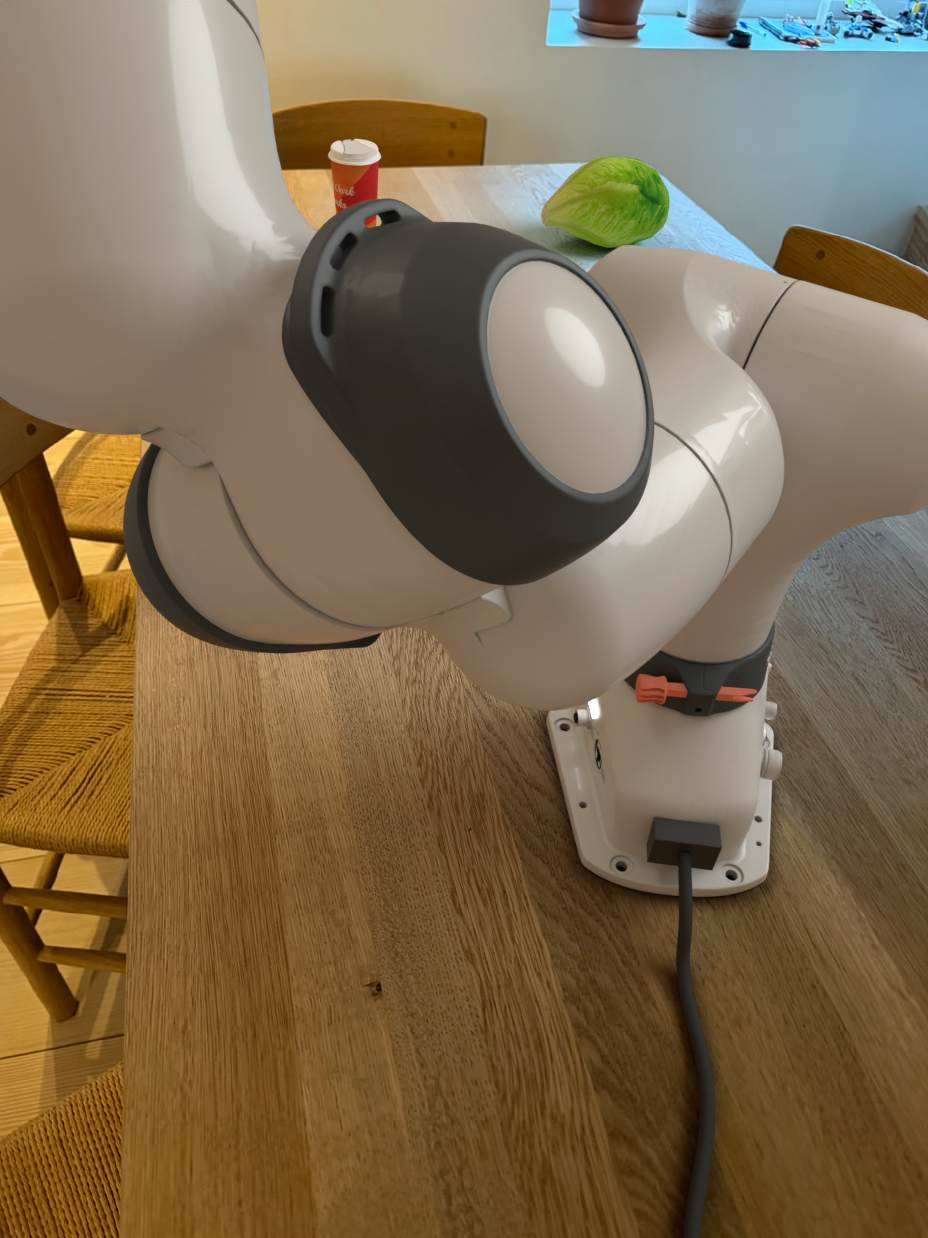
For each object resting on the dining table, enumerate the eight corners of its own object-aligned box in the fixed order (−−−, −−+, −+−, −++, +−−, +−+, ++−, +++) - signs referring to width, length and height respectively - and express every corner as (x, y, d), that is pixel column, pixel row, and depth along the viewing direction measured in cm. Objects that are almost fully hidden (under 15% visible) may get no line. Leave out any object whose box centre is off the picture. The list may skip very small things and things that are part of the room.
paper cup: (325, 235, 150) (320, 139, 140) (371, 229, 152) (369, 135, 142) (342, 255, 145) (338, 157, 135) (389, 248, 147) (389, 152, 137)
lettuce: (528, 226, 156) (536, 137, 147) (646, 223, 159) (661, 136, 150) (550, 266, 145) (560, 173, 136) (676, 262, 148) (694, 171, 139)
